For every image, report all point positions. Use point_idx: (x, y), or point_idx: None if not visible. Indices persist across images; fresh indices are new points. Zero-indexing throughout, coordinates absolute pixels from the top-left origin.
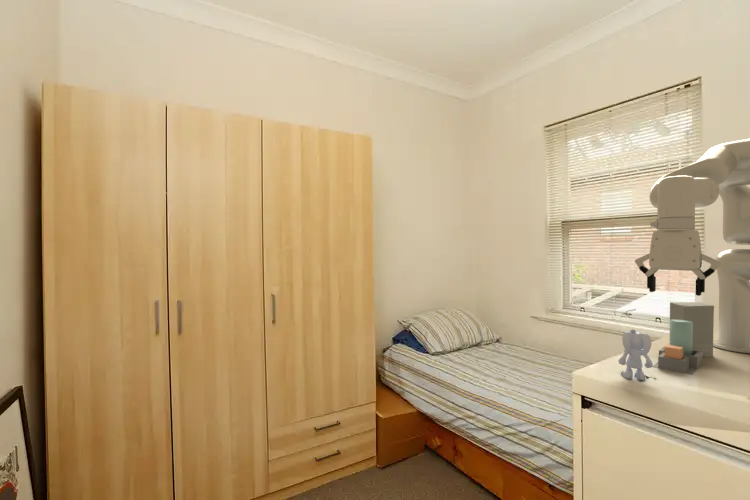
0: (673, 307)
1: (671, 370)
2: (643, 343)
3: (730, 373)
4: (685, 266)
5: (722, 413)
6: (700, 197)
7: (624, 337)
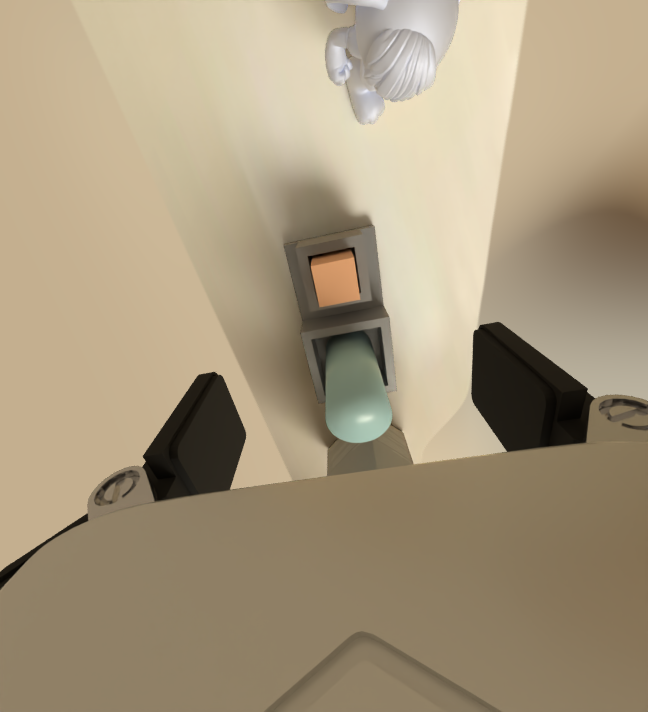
0: None
1: (328, 236)
2: None
3: (265, 374)
4: (159, 545)
5: None
6: None
7: None
